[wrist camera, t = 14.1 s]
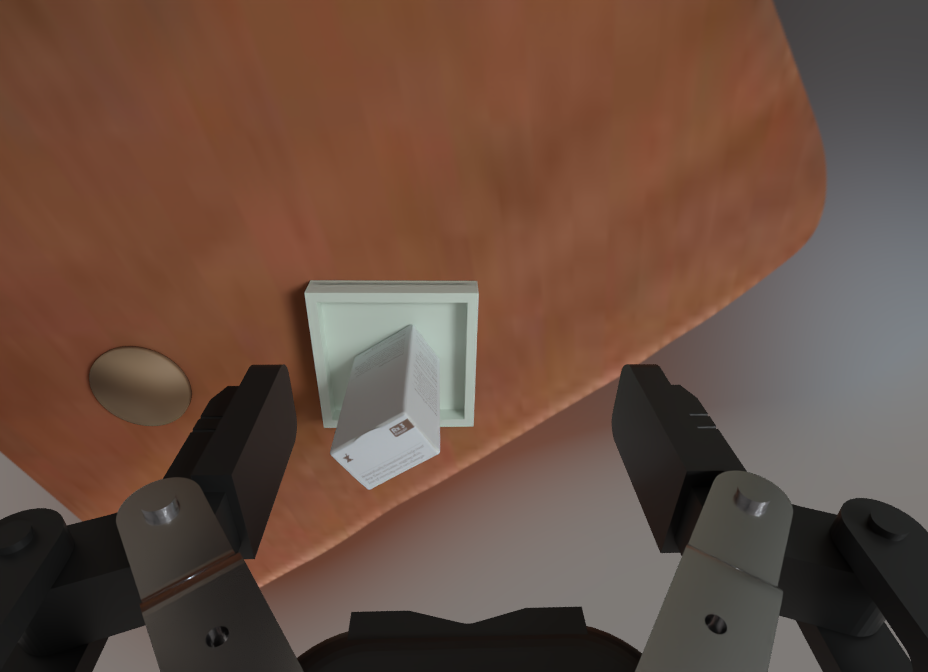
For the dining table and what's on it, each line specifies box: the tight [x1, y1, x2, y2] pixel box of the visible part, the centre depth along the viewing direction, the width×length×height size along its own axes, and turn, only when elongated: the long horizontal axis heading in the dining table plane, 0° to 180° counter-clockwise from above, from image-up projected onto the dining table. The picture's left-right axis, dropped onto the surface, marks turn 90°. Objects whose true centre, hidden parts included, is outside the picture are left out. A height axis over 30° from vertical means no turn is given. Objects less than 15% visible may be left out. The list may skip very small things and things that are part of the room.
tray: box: [304, 280, 479, 428], centre depth 44 cm, size 13×13×2 cm
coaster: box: [89, 346, 192, 426], centre depth 46 cm, size 8×8×1 cm
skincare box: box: [330, 325, 440, 490], centre depth 39 cm, size 6×4×12 cm
